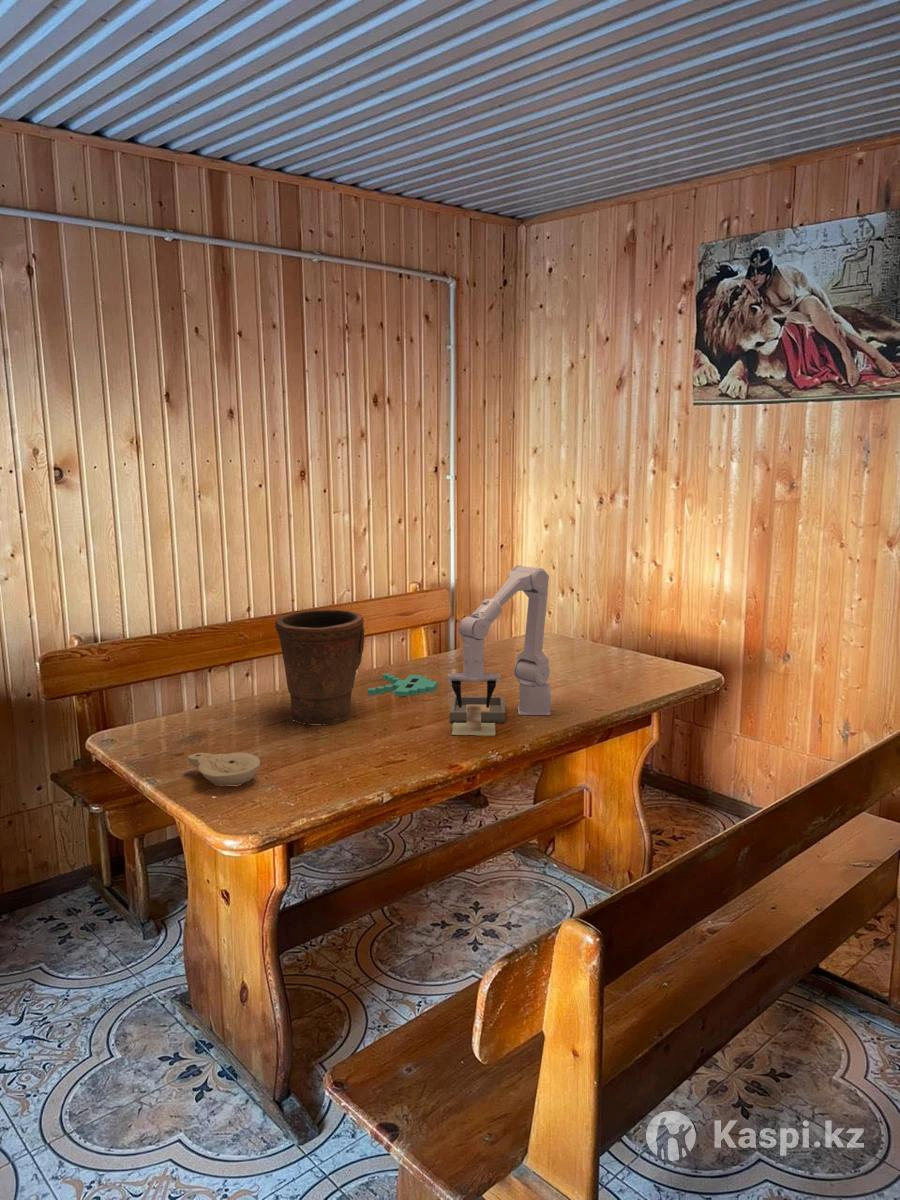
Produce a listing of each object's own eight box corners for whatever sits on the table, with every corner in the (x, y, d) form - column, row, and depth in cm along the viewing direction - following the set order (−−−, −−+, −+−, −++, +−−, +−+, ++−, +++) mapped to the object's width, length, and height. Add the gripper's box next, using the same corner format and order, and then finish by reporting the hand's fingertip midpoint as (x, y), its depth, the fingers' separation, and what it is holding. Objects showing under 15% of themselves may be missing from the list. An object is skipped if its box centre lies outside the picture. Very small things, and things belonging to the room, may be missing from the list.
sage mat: (495, 724, 255) (494, 723, 255) (495, 735, 245) (495, 734, 245) (453, 724, 255) (453, 722, 255) (451, 735, 246) (451, 734, 246)
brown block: (480, 725, 252) (480, 705, 251) (481, 730, 249) (480, 709, 247) (466, 725, 253) (466, 705, 251) (466, 730, 249) (466, 709, 248)
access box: (504, 706, 272) (504, 696, 271) (505, 723, 256) (505, 712, 255) (451, 706, 272) (451, 696, 272) (449, 723, 256) (449, 712, 256)
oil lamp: (167, 780, 215) (166, 761, 215) (212, 762, 227) (210, 743, 226) (230, 798, 205) (228, 778, 204) (273, 778, 217) (272, 758, 216)
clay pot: (392, 711, 268) (389, 613, 263) (316, 735, 247) (312, 630, 241) (336, 695, 285) (333, 603, 279) (261, 716, 264) (256, 618, 258)
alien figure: (367, 696, 285) (428, 699, 281) (367, 689, 285) (428, 692, 281) (384, 679, 304) (441, 682, 300) (384, 673, 304) (441, 676, 300)
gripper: (446, 663, 243) (447, 711, 245) (499, 663, 242) (500, 711, 245) (447, 657, 250) (448, 703, 252) (499, 656, 249) (499, 703, 252)
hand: (473, 706), depth 249 cm, fingers open, 7 cm apart
